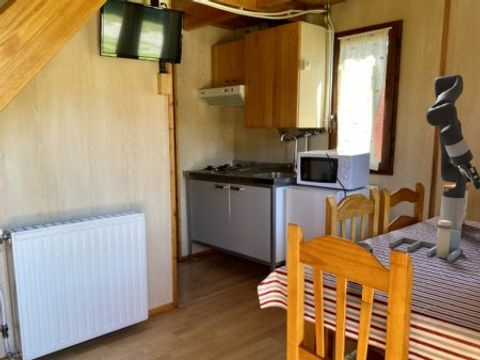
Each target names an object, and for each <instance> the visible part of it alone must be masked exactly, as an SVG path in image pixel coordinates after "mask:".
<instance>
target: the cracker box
mask: <svg viewBox="0 0 480 360" xmlns="http://www.w3.org/2000/svg"><path fill="white" fill-rule="evenodd" d="M455 186H456V183H455V184H445V185H442V188H441V189H442V190H441V199H440V200H441V201H440V208H439V209H440V210H439V212H440V211H441V210H442V200H443V191H444V190H446V189H451V188H453V187H455ZM469 188H470V185H468V184H466V191H465V198H464V209H463V220H462V225H466V218H467V217H466V216H467V208H468V198H469V190H470V189H469ZM439 220H440V216H439ZM439 220H438V221H439Z"/></svg>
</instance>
